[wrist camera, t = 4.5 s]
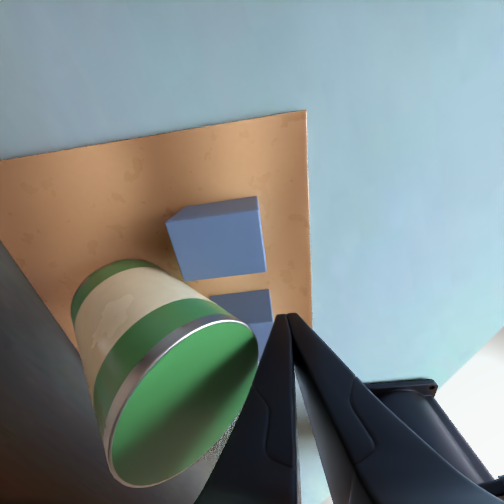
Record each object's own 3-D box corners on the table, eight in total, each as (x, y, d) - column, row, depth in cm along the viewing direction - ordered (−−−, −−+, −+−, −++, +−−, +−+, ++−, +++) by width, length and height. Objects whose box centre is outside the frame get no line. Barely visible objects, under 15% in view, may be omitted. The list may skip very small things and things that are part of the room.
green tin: (250, 232, 12) (244, 406, 4) (261, 302, 14) (272, 511, 6) (99, 252, 13) (-193, 441, 4) (131, 316, 15) (-24, 526, 6)
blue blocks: (257, 195, 11) (259, 209, 8) (273, 323, 15) (278, 360, 12) (184, 206, 11) (163, 222, 9) (218, 328, 15) (211, 366, 12)
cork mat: (304, 110, 10) (306, 109, 10) (311, 349, 17) (313, 353, 16) (-41, 168, 11) (-51, 168, 11) (97, 369, 18) (93, 374, 17)
